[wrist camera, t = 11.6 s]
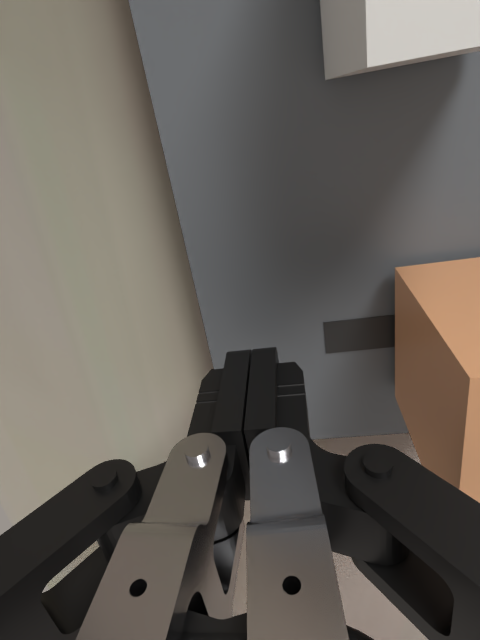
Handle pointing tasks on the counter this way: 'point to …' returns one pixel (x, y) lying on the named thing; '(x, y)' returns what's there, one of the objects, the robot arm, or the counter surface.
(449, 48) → the block
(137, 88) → the counter surface
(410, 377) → the fader
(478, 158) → the console
